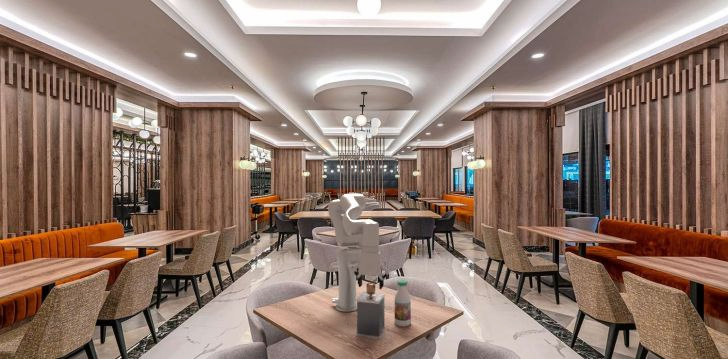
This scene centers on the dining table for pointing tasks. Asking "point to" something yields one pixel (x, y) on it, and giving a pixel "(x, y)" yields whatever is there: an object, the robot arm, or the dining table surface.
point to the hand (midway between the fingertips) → (370, 287)
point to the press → (370, 315)
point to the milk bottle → (402, 305)
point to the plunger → (370, 288)
